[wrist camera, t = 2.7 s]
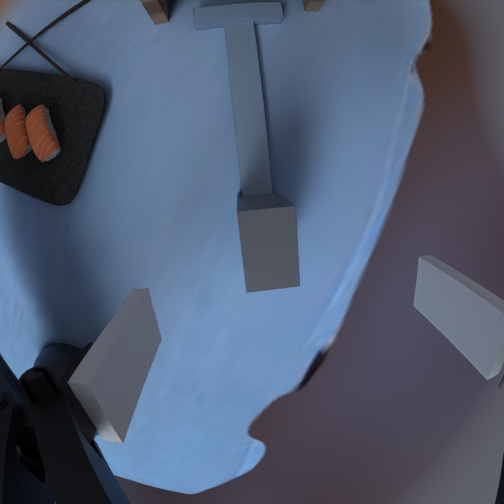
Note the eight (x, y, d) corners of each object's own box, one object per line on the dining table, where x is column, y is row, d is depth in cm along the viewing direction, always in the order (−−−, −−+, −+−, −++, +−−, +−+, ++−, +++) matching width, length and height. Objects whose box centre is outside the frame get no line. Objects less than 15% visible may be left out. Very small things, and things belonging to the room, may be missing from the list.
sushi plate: (-43, 157, 25) (-58, 159, 21) (27, -15, 17) (15, -23, 14) (80, 211, 29) (63, 217, 26) (180, -16, 22) (175, -33, 18)
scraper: (303, 245, 31) (331, 281, 22) (220, 255, 31) (213, 295, 22) (278, 10, 23) (293, -40, 14) (195, 16, 23) (180, -33, 14)
